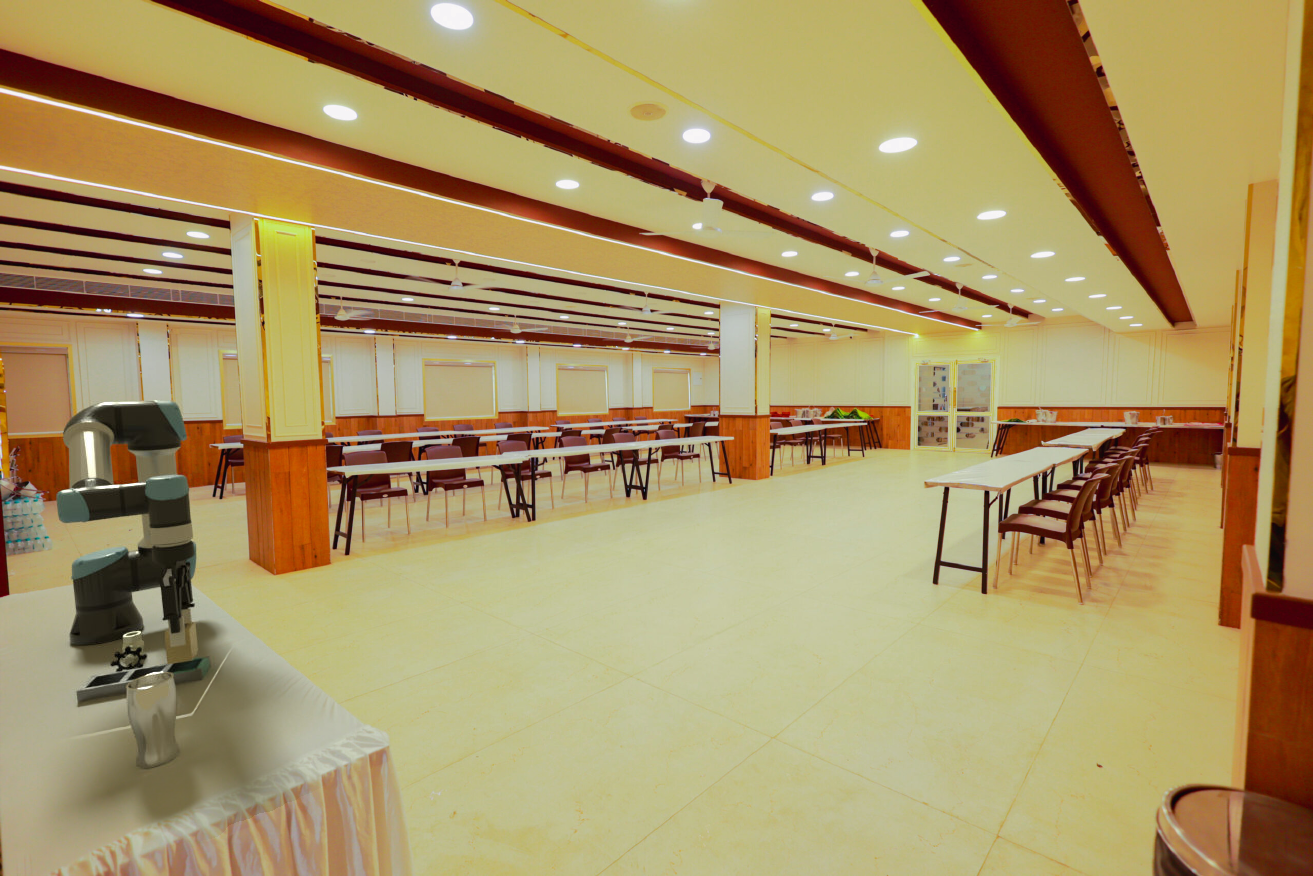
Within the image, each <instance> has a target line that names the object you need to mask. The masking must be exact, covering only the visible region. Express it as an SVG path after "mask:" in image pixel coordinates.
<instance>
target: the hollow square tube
mask: <svg viewBox="0 0 1313 876" xmlns="http://www.w3.org/2000/svg"><path fill="white" fill-rule="evenodd" d="M184 626H185V637H186V644H185V645H181V646H174V647H170V637H169V627H168V629H166V630H165V631H164V640H165V641H164V643H165V652H166V654H165V655H166V663H167V664H173V663H179V662H185V661H191V660H193V659H194V658H196V656H197V654H198V653H199V650H198V648H199V647H198V639H197V638H198V636H197V628H196V627H197V626H196V621H194V622H191V623H185V624H184Z"/></svg>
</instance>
